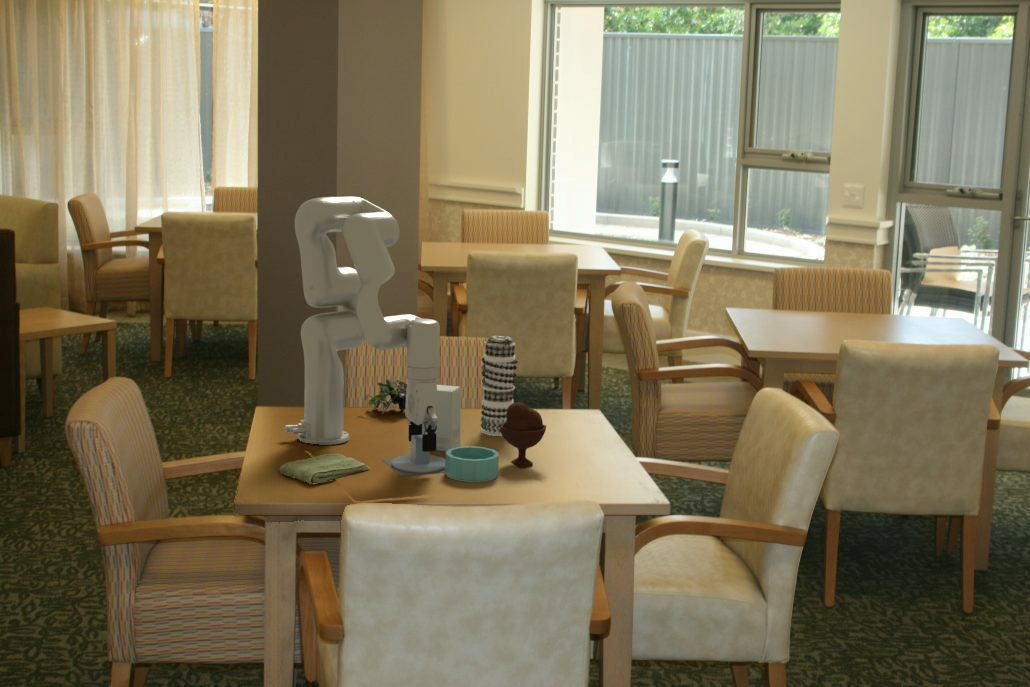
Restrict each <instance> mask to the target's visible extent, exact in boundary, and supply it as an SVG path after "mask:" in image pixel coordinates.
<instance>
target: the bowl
mask: <svg viewBox="0 0 1030 687" xmlns="http://www.w3.org/2000/svg"><path fill="white" fill-rule="evenodd" d="M444 459H445V476H446V477H447V478H450V479H451V480H455V481H459V482H468V483H480V482H481V483H482V482H488V481H492V480H494V479H496V478H497V477H498V476H499V475H498V474H499V466H500V465H499V464H500V453H499V452H498V451H497V450H495V449H493V448H488V447H483V446H472V445H467V446H460V447H455V448H452V449H449V450H447V451H445V458H444Z"/></svg>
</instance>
